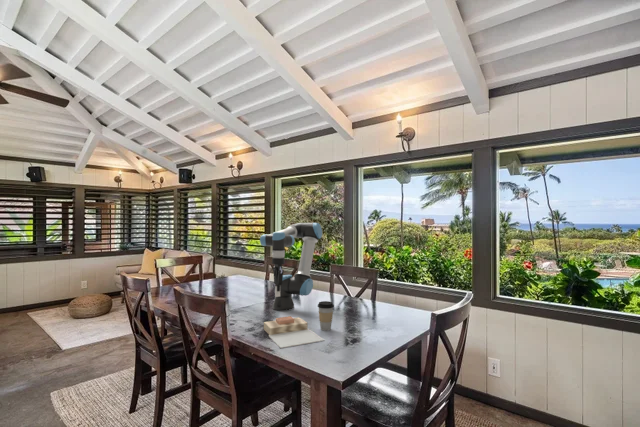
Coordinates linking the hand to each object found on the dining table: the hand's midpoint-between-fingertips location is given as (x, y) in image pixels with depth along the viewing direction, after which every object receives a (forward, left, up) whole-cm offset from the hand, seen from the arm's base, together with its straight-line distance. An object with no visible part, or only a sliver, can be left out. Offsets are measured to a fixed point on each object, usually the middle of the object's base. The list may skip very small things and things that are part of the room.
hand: (277, 296), depth 197 cm
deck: (0, +13, -16) cm, 21 cm away
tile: (0, +12, -12) cm, 17 cm away
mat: (0, +29, -16) cm, 33 cm away
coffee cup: (-21, +22, -16) cm, 35 cm away
